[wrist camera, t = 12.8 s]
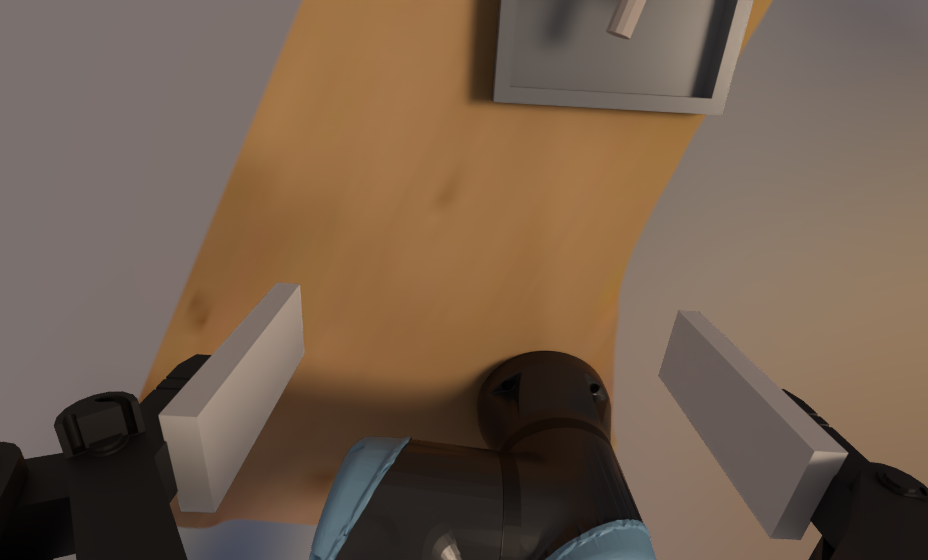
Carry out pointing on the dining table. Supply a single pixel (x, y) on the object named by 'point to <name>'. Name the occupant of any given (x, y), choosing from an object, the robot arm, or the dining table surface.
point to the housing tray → (619, 54)
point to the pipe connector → (625, 18)
